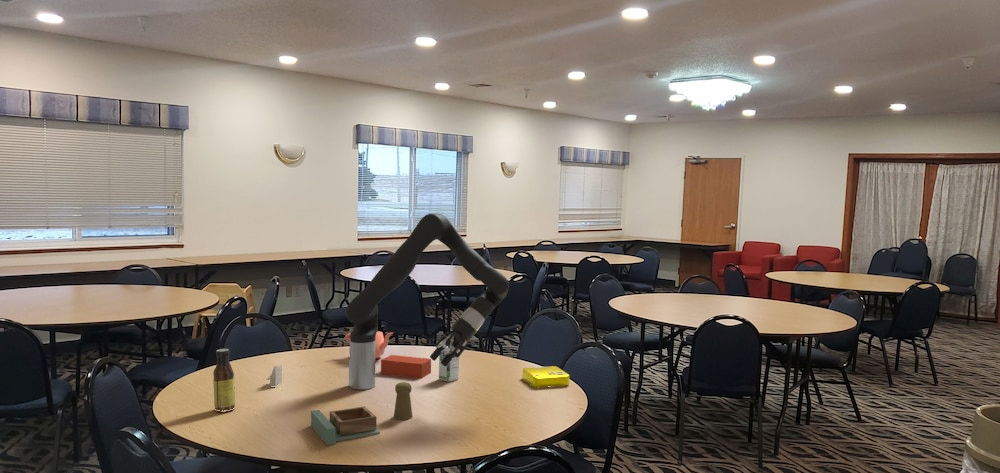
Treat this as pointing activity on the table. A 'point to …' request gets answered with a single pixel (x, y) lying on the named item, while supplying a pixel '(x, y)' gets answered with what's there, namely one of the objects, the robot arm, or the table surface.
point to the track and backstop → (332, 429)
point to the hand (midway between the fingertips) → (437, 361)
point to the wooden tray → (353, 420)
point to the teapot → (376, 343)
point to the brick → (406, 366)
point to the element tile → (545, 376)
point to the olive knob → (403, 402)
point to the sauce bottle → (223, 382)
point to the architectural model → (275, 376)
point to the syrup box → (448, 368)
